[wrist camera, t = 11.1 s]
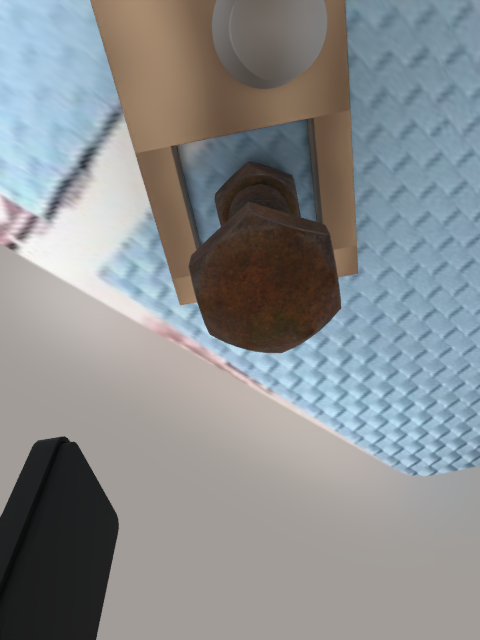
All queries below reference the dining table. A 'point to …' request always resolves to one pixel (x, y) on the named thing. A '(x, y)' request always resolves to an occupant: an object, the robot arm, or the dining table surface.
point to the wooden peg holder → (232, 99)
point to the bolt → (264, 266)
